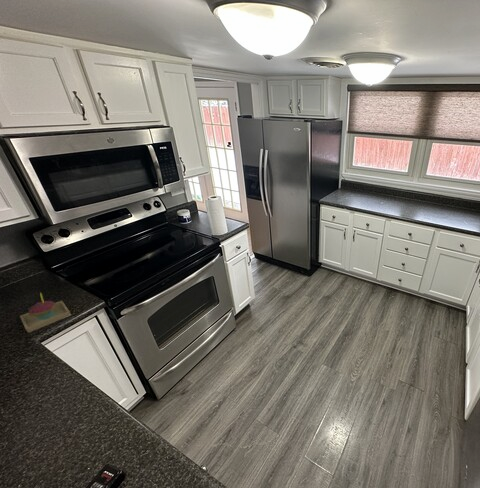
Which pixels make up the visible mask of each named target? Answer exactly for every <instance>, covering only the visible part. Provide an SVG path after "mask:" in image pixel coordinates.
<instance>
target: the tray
mask: <svg viewBox="0 0 480 488" xmlns="http://www.w3.org/2000/svg"><path fill="white" fill-rule="evenodd" d="M54 303H55V304H56V307H55V308H54V315H53V316H51V317H50V318H47V319H43V320H41V319H39V318H38V317H36V316H30V315H29V312H27V313H23V314H21V315H19V317H20V320H21V322H22V324H23V326H24V329H25V331H26V332H27V333H28V334H29V333H32V332H34V331H36V330H38V329H41V328H44V327H46V326H49V325H51V324H54V323H56V322H58V321H61V320H63V319H66V318H68V317H71V316H72V313H71V311H70V310H69V308H68V307H67V306H66V304H65V303H64V301H63V300H60V301H57V302H54Z"/></svg>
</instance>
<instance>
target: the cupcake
mask: <svg viewBox="0 0 480 488" xmlns="http://www.w3.org/2000/svg"><path fill="white" fill-rule="evenodd" d="M39 296H40V300H41V301H39V302H37V303H35V304H33V305H32V306H30V308H28V313H29V315H30V316H36V317H38V318H39V319H41V320H43V319H47V318H50V317H51V316H53V315H54V308H55V307H56V304H55V303H56V302H54V301H52V300H44V295H43V293H42V291H40V293H39Z"/></svg>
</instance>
